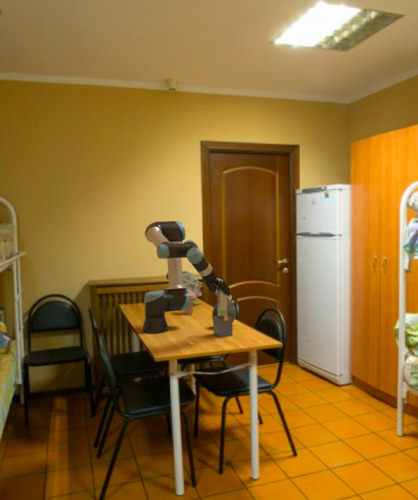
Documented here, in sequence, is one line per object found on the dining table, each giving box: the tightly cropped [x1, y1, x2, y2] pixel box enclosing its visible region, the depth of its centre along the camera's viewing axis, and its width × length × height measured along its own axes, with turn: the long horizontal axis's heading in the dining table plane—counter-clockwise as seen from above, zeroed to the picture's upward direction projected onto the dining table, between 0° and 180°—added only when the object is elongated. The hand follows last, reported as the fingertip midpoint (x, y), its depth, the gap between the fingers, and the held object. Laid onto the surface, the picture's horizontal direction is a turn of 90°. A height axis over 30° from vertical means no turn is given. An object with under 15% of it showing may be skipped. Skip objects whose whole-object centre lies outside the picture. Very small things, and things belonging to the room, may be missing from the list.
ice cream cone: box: [184, 289, 198, 316], centre depth 309 cm, size 11×11×20 cm
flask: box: [211, 299, 237, 324], centre depth 265 cm, size 12×17×22 cm
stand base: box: [212, 315, 233, 338], centre depth 246 cm, size 16×16×12 cm
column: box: [216, 286, 228, 318], centre depth 245 cm, size 4×4×20 cm
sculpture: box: [165, 270, 203, 306], centre depth 345 cm, size 20×25×30 cm
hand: (226, 298), depth 248 cm, fingers closed on column, 5 cm apart
